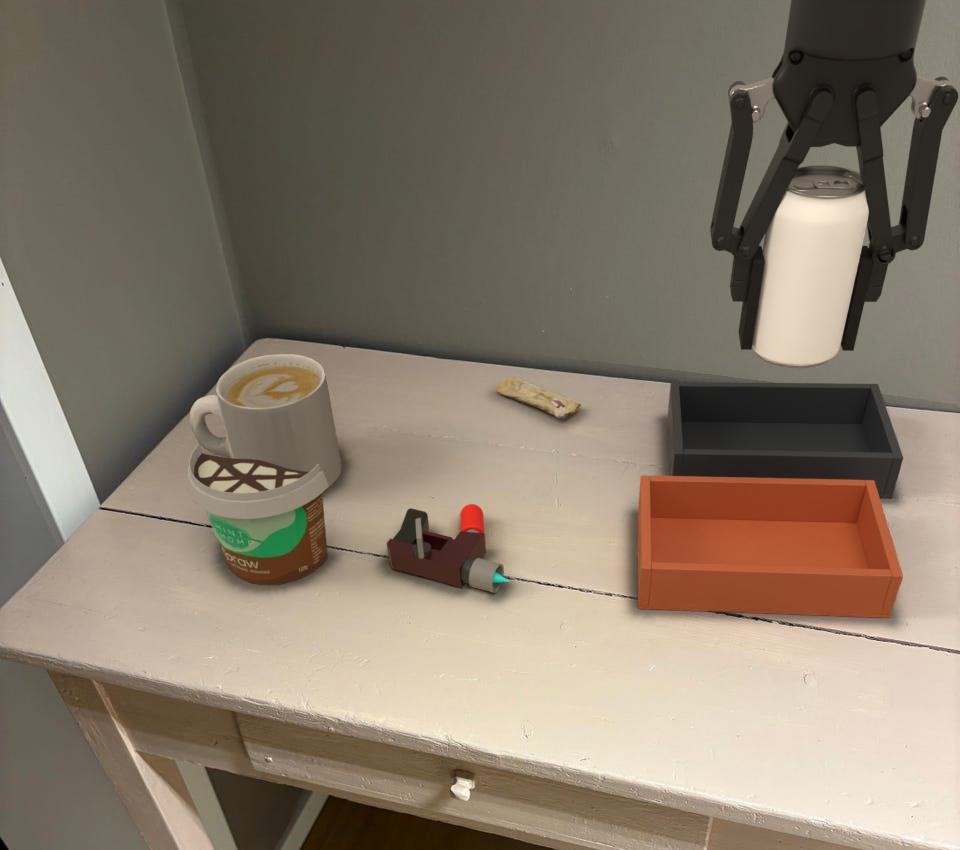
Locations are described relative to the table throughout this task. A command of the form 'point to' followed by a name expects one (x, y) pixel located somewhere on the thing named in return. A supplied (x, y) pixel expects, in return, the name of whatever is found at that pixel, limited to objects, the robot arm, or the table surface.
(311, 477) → the food container
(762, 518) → the terracotta bin
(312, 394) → the coffee mug
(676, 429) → the grey bin
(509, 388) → the snack bar
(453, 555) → the toy gun
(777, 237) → the can
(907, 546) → the table surface
